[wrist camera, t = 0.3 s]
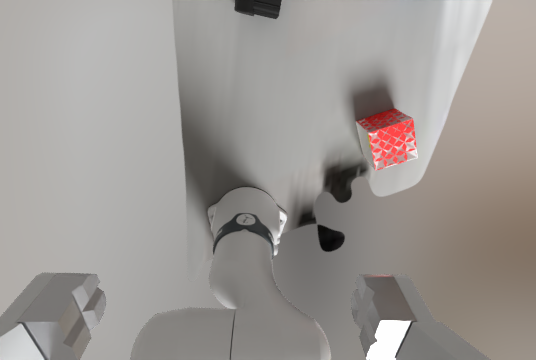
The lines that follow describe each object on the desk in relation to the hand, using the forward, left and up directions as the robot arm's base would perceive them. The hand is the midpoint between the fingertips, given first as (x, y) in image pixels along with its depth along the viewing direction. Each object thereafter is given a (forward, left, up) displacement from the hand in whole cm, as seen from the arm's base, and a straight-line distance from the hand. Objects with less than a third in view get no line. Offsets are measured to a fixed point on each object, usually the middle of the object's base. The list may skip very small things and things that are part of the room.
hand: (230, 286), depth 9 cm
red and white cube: (-9, -25, -50) cm, 57 cm away
